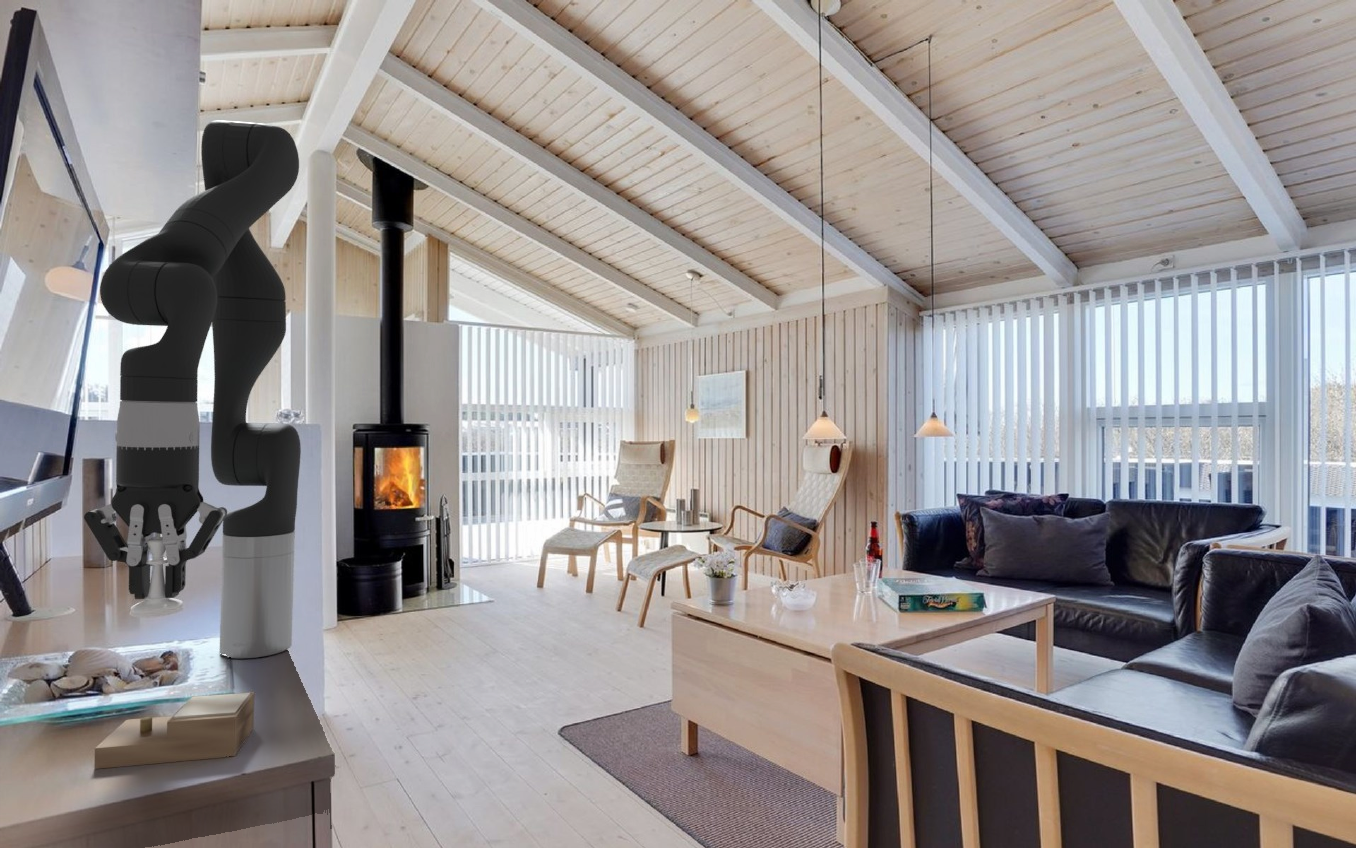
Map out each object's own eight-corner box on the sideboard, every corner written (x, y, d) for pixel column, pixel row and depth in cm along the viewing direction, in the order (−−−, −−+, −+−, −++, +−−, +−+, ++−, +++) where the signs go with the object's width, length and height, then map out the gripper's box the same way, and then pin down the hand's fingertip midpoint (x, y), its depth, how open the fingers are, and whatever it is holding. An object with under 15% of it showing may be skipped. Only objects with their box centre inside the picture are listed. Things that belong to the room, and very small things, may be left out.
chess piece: (186, 612, 82) (188, 523, 82) (132, 620, 79) (133, 527, 78) (180, 602, 86) (181, 517, 85) (127, 609, 82) (128, 521, 82)
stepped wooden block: (126, 738, 78) (127, 699, 78) (253, 728, 81) (254, 690, 81) (94, 769, 71) (95, 725, 71) (234, 756, 74) (235, 714, 74)
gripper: (239, 441, 87) (237, 586, 88) (101, 439, 83) (99, 591, 84) (219, 445, 80) (216, 603, 80) (67, 443, 76) (65, 609, 76)
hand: (157, 596), depth 82 cm, fingers closed on chess piece, 2 cm apart
